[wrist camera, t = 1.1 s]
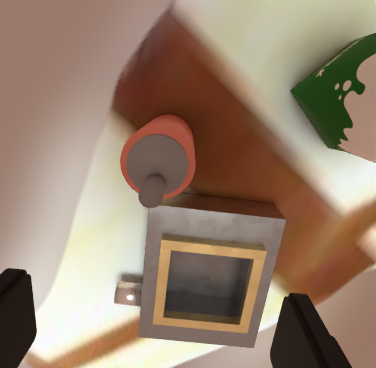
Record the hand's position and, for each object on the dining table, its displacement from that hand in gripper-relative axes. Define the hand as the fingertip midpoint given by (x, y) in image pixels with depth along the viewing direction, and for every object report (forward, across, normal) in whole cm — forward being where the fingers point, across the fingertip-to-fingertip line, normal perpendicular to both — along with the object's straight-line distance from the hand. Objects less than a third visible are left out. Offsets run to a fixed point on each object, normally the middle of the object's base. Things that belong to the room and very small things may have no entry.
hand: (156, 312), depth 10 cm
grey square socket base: (+19, -2, +11) cm, 22 cm away
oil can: (+20, +1, -3) cm, 20 cm away
